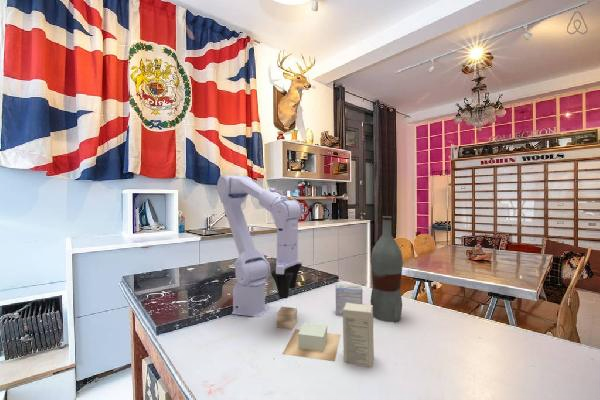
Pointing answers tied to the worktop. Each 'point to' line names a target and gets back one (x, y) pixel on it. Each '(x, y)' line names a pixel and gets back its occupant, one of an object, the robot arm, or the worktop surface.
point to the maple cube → (286, 318)
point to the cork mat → (327, 354)
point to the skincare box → (358, 334)
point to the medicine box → (347, 296)
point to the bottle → (386, 276)
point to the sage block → (312, 337)
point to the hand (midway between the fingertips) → (287, 292)
